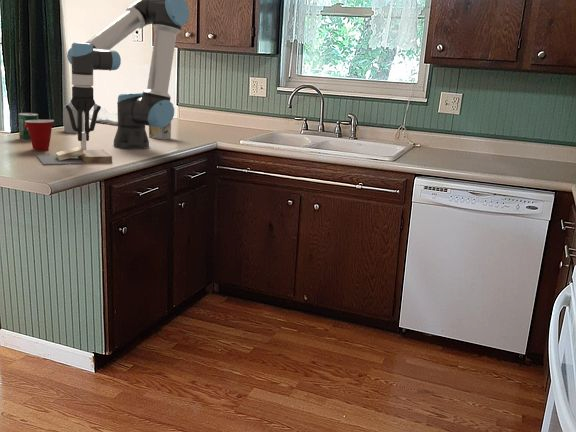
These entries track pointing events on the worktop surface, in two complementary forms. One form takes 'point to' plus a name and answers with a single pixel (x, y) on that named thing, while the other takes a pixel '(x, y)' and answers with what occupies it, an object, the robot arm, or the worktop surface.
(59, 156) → the birch tile
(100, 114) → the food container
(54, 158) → the rubber mat
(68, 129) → the cup
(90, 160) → the walnut deck
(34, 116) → the canned tomato
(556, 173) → the worktop surface
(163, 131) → the coffee box
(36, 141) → the plastic cup
